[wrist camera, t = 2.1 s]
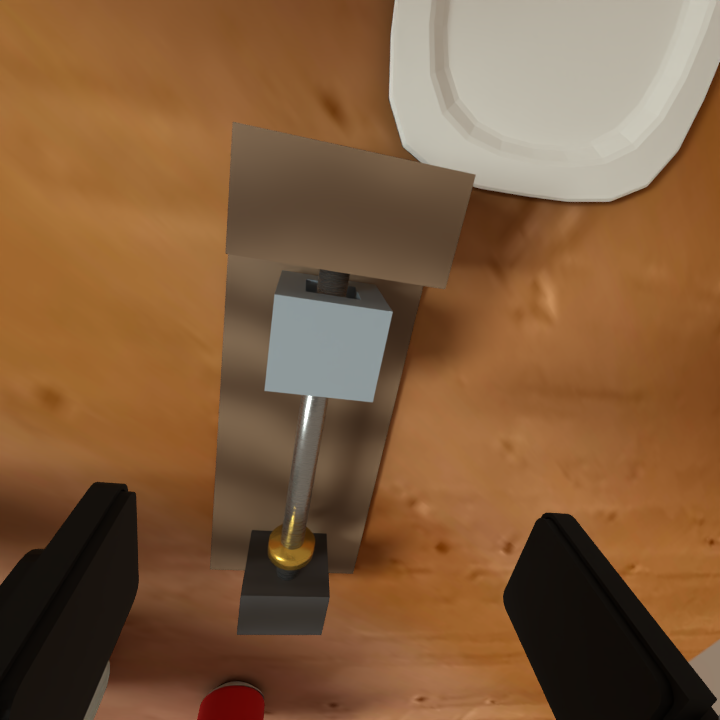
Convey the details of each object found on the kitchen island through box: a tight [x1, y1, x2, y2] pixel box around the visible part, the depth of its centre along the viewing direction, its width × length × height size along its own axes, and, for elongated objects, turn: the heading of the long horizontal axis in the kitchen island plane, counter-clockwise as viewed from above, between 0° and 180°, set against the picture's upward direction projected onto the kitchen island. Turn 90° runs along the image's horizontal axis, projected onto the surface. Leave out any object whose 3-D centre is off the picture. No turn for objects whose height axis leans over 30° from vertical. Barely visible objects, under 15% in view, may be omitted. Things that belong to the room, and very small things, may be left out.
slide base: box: [210, 122, 476, 635], centre depth 26 cm, size 32×12×7 cm, turn 170°
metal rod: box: [268, 269, 350, 581], centre depth 26 cm, size 26×3×3 cm, turn 170°
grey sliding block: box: [265, 270, 393, 402], centre depth 22 cm, size 5×6×6 cm
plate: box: [389, 0, 720, 202], centre depth 21 cm, size 18×18×2 cm
